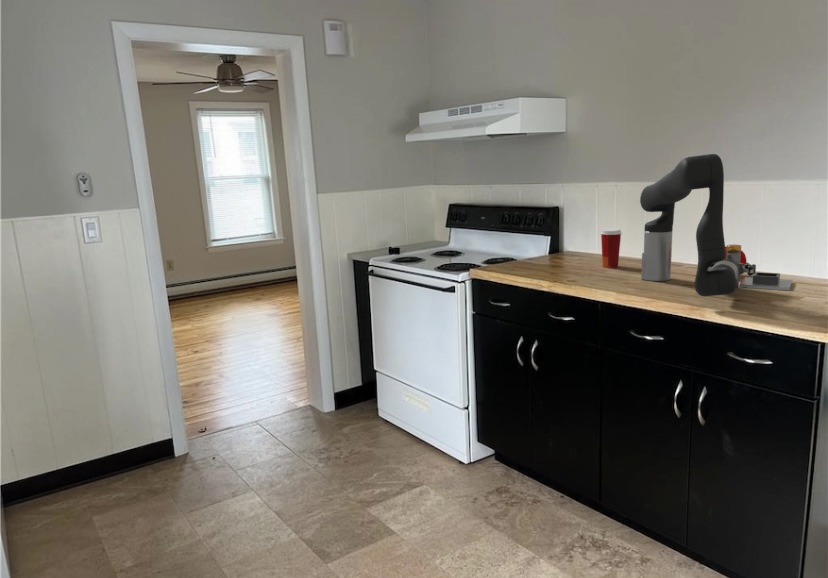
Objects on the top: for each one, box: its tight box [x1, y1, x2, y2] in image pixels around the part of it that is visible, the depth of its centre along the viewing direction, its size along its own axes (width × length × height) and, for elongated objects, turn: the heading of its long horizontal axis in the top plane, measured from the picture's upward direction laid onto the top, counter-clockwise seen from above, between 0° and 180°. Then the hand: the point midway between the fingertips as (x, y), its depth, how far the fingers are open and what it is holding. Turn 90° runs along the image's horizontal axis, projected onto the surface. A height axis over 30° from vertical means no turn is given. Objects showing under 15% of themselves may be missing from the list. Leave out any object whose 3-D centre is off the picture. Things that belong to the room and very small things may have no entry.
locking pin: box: [726, 244, 742, 290], centre depth 197 cm, size 4×4×14 cm
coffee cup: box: [599, 228, 622, 269], centre depth 246 cm, size 8×8×15 cm
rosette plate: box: [739, 271, 793, 291], centre depth 200 cm, size 14×14×4 cm
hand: (732, 265), depth 196 cm, fingers open, 8 cm apart
